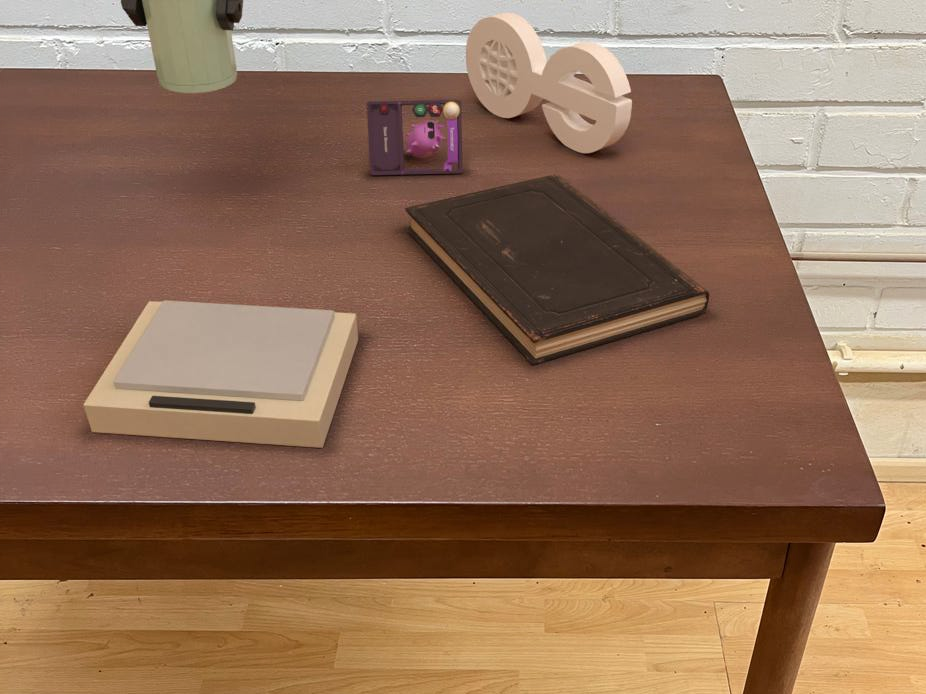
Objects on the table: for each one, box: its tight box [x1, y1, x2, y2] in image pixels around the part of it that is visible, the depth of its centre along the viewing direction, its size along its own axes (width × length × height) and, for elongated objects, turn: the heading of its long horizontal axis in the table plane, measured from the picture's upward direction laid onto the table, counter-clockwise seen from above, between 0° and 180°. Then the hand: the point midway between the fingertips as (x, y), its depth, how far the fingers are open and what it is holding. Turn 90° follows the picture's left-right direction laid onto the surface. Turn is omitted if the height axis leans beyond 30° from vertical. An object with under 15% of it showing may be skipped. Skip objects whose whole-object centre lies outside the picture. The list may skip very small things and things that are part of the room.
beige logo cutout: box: [465, 12, 633, 154], centre depth 103 cm, size 22×2×10 cm, turn 42°
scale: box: [83, 300, 359, 449], centre depth 72 cm, size 16×13×3 cm
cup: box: [142, 0, 238, 94], centre depth 78 cm, size 6×6×8 cm
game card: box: [366, 99, 463, 176], centre depth 99 cm, size 7×5×9 cm
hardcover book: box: [404, 173, 710, 366], centre depth 84 cm, size 16×23×2 cm
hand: (180, 22), depth 76 cm, fingers closed on cup, 6 cm apart
